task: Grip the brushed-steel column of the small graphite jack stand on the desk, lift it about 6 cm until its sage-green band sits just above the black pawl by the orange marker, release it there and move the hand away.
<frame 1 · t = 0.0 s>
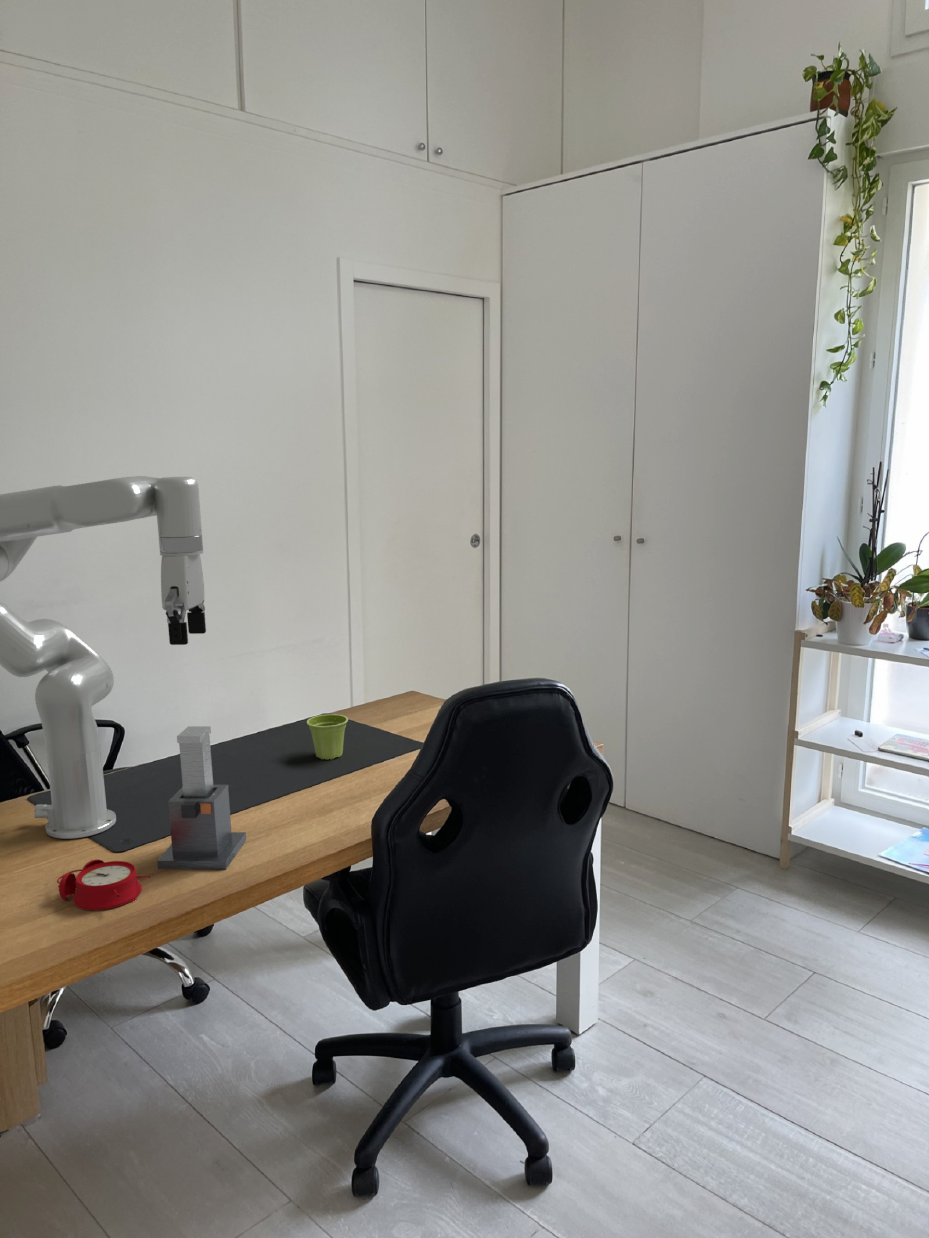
hand: (188, 638, 172), 37 cm above the table, tool pointing down, fingers open, 9 cm apart
alarm clock: (100, 896, 153), on the table
column: (198, 789, 164), point 12 cm above the table, slide at 0.0 cm
plant pot: (329, 756, 218), on the table
stand base: (203, 853, 167), on the table
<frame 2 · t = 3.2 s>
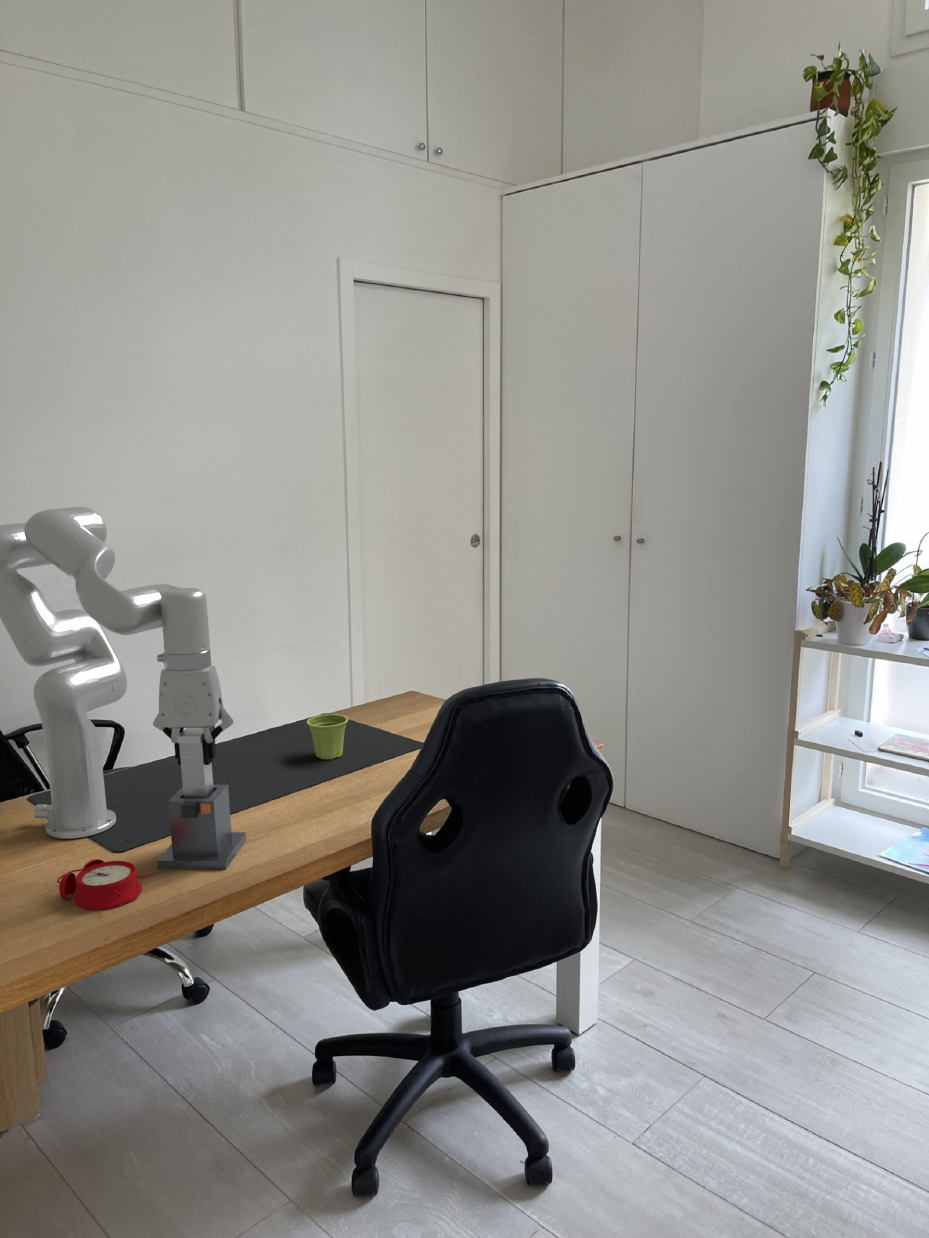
hand: (196, 761, 163), 17 cm above the table, tool pointing down, fingers closed on column, 4 cm apart
column: (198, 789, 164), point 12 cm above the table, slide at 0.0 cm, touching gripper
everything else where it was.
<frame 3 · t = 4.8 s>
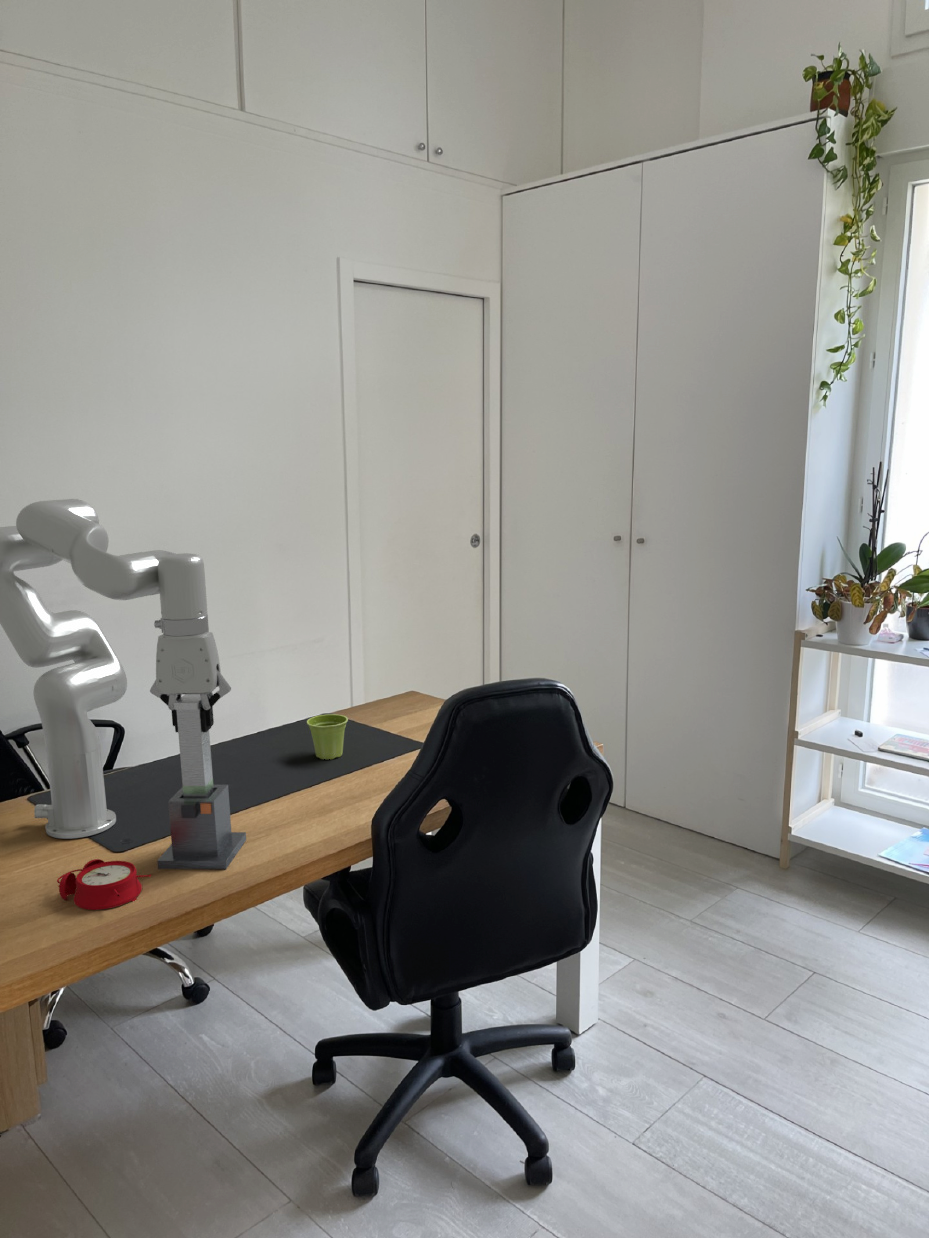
hand: (193, 728, 162), 23 cm above the table, tool pointing down, fingers closed on column, 4 cm apart
column: (195, 757, 163), point 18 cm above the table, slide at 5.9 cm, touching gripper
everything else where it was.
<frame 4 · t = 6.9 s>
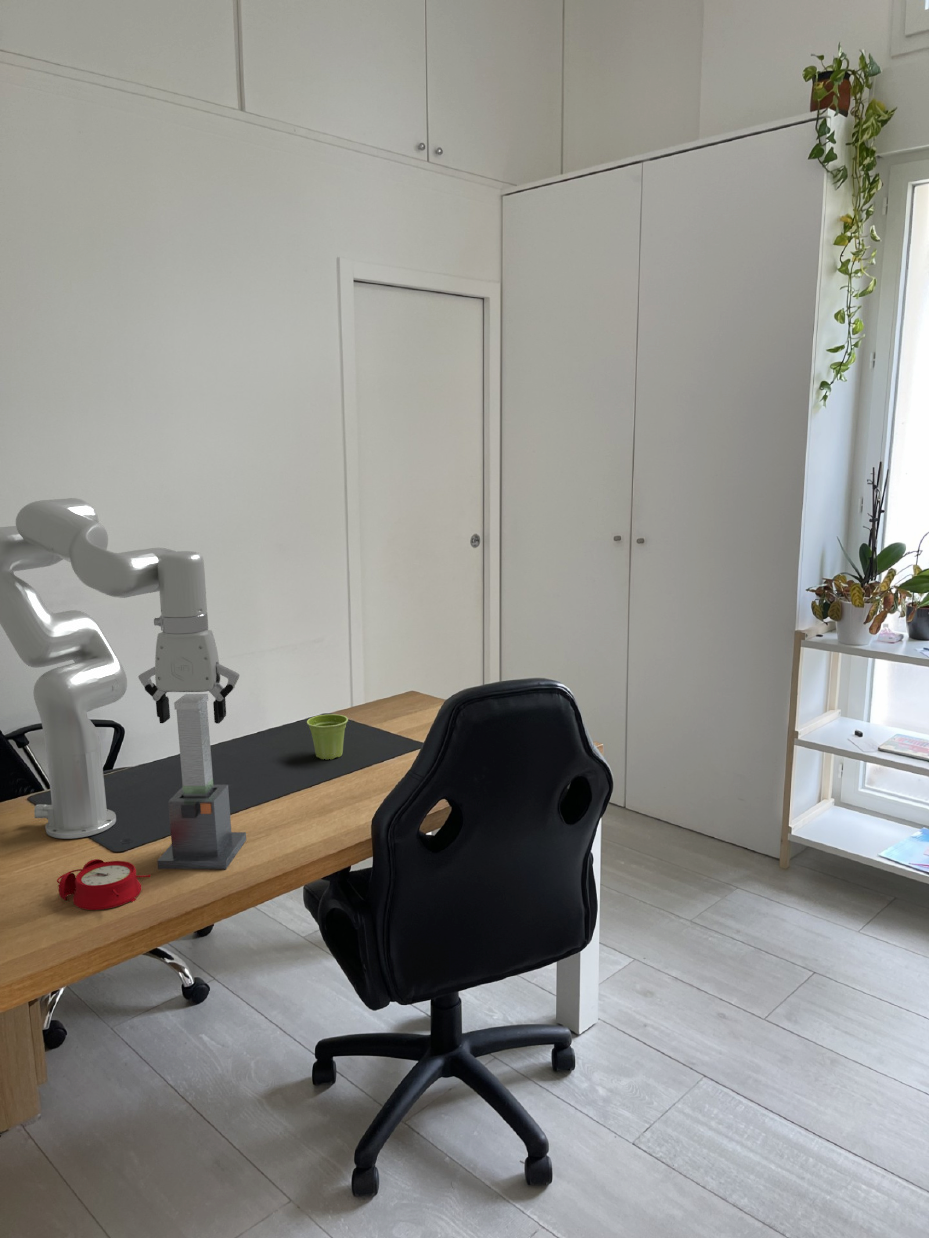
hand: (192, 721, 162), 25 cm above the table, tool pointing down, fingers open, 9 cm apart
column: (195, 756, 163), point 18 cm above the table, slide at 6.0 cm
everything else where it was.
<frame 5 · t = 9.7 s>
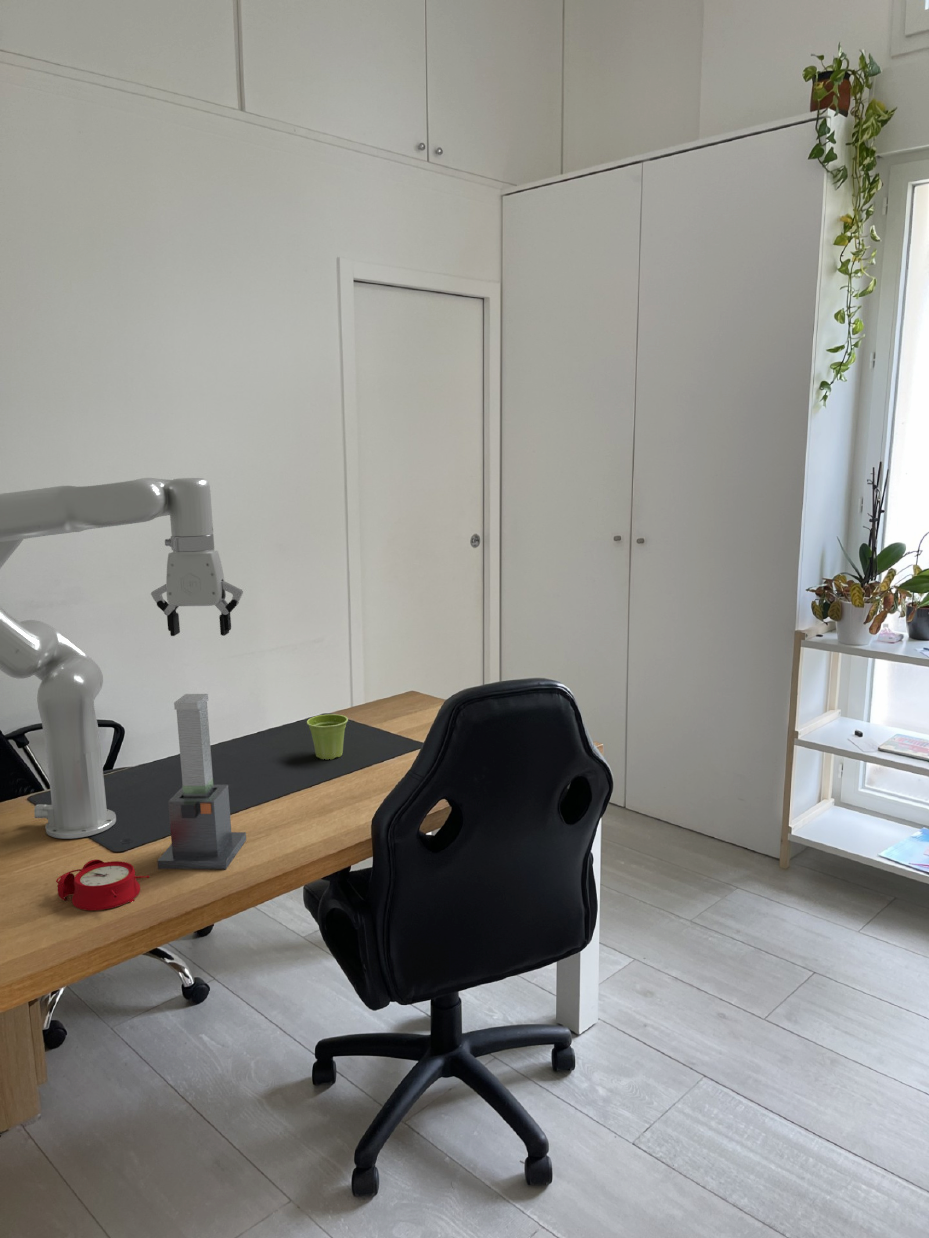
hand: (200, 634, 178), 36 cm above the table, tool pointing down, fingers open, 9 cm apart
nothing on the table moved.
at the end: column slide at 6.0 cm; the gripper is holding nothing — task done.
